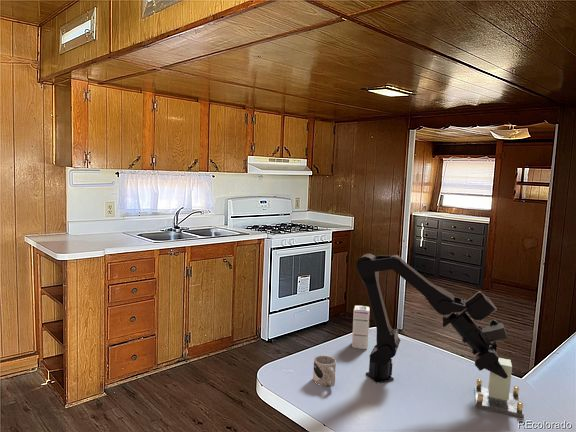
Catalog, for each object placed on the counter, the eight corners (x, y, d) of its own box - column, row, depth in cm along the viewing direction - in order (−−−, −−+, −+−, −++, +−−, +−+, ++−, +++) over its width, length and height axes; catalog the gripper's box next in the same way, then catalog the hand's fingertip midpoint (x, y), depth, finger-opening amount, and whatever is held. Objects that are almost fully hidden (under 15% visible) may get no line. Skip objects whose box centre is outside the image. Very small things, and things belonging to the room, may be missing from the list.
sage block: (489, 396, 127) (492, 363, 126) (488, 388, 132) (491, 356, 131) (508, 400, 125) (512, 366, 124) (506, 392, 130) (510, 359, 129)
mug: (309, 377, 139) (310, 356, 138) (329, 374, 141) (330, 354, 141) (322, 392, 130) (324, 370, 129) (343, 389, 132) (344, 368, 131)
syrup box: (367, 349, 162) (370, 310, 161) (351, 347, 164) (353, 309, 162) (368, 343, 168) (370, 306, 167) (352, 341, 169) (354, 304, 168)
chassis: (523, 417, 121) (524, 405, 120) (475, 407, 125) (476, 395, 125) (518, 397, 132) (519, 386, 132) (474, 388, 136) (475, 377, 136)
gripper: (492, 323, 119) (535, 372, 116) (489, 305, 136) (526, 346, 133) (458, 346, 122) (498, 394, 120) (459, 325, 140) (494, 366, 137)
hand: (505, 373), depth 127 cm, fingers closed on sage block, 5 cm apart
